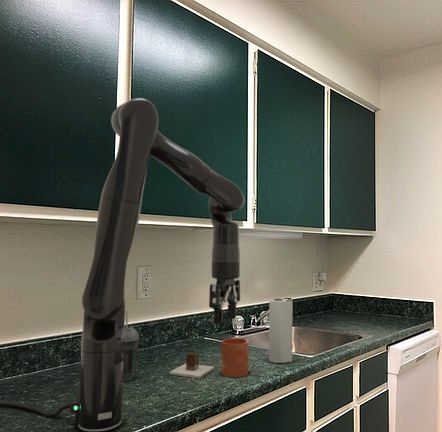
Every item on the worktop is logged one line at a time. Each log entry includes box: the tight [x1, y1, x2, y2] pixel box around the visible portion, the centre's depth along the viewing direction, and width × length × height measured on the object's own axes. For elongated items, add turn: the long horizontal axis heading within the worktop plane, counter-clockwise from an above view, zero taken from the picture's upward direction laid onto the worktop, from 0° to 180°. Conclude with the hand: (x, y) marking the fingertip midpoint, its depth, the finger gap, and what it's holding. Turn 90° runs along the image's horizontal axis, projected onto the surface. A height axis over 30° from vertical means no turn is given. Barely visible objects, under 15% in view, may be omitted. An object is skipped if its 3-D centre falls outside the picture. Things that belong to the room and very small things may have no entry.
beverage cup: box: [123, 310, 140, 382], centre depth 136 cm, size 7×7×20 cm
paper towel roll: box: [268, 298, 294, 364], centre depth 157 cm, size 7×6×21 cm
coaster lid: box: [168, 351, 215, 379], centre depth 144 cm, size 10×10×6 cm
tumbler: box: [220, 337, 250, 378], centre depth 143 cm, size 9×9×10 cm
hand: (225, 321), depth 120 cm, fingers open, 8 cm apart
